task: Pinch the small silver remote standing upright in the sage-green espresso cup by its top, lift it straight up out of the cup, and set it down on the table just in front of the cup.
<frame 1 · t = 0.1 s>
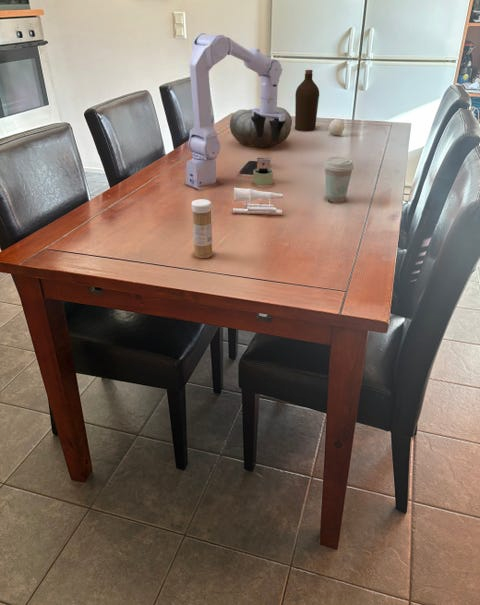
hand: (267, 139, 179), 10 cm above the table, tool pointing down, fingers open, 7 cm apart
phone: (254, 170, 181), on the table
sprinkles bottle: (203, 255, 123), on the table
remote: (263, 181, 168), point 1 cm above the table, touching cup
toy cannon: (257, 212, 147), on the table
olive oil: (305, 129, 236), on the table
coffee cup: (335, 200, 156), on the table
cup: (263, 184, 168), on the table, touching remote
gourd: (260, 145, 212), on the table
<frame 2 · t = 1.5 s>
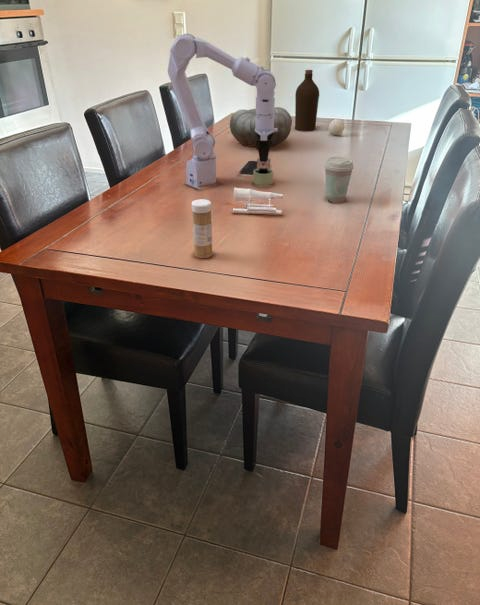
hand: (263, 158, 164), 9 cm above the table, tool pointing down, fingers open, 7 cm apart
nothing on the table moved.
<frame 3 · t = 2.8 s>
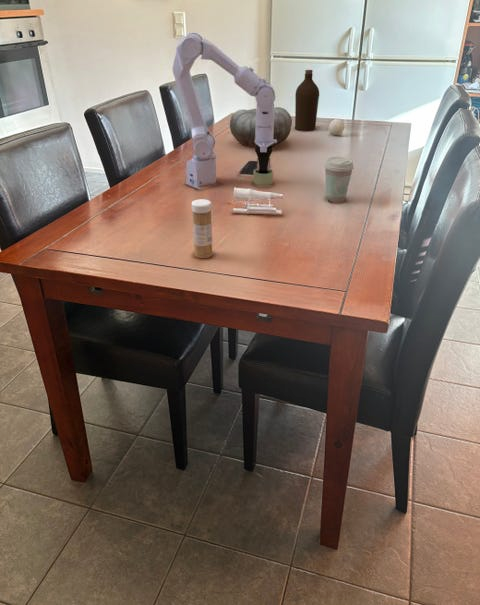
hand: (263, 168, 165), 5 cm above the table, tool pointing down, fingers closed on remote, 2 cm apart
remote: (263, 181, 168), point 1 cm above the table, touching cup, gripper
everything else where it was.
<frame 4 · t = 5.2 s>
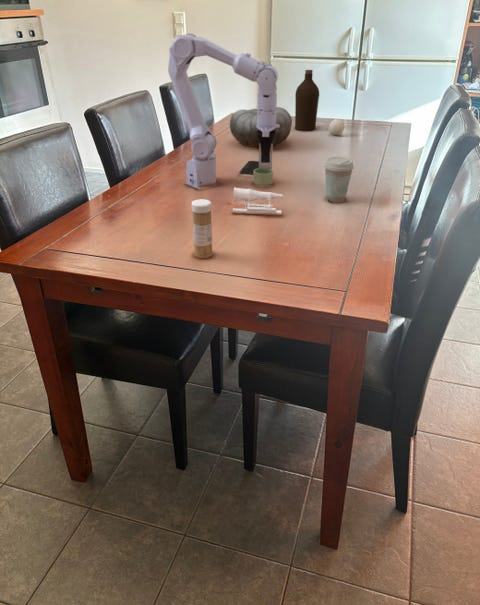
hand: (265, 154, 160), 10 cm above the table, tool pointing down, fingers closed on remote
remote: (265, 168, 163), point 6 cm above the table, touching gripper
cup: (263, 184, 168), on the table
everything else where it was.
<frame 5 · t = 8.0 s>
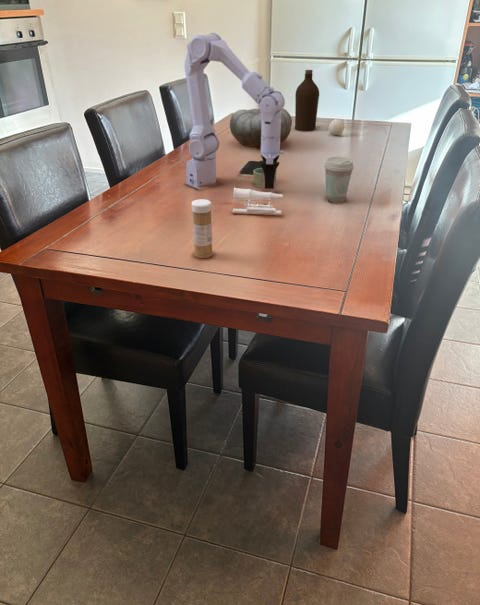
hand: (269, 180, 158), 4 cm above the table, tool pointing down, fingers open, 6 cm apart
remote: (269, 194, 160), on the table
everything else where it was.
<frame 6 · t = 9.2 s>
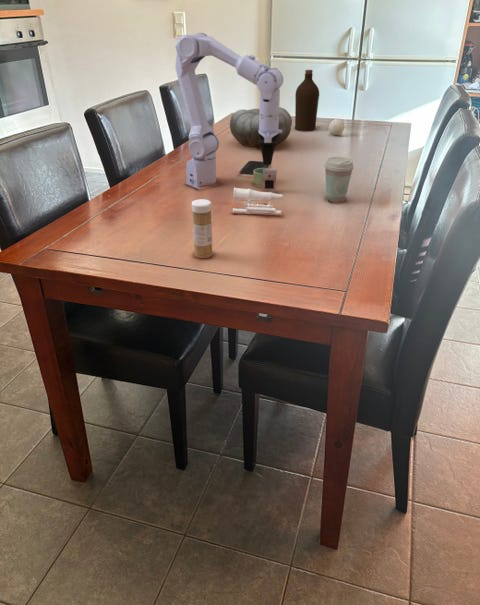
hand: (267, 160, 156), 10 cm above the table, tool pointing down, fingers open, 7 cm apart
nothing on the table moved.
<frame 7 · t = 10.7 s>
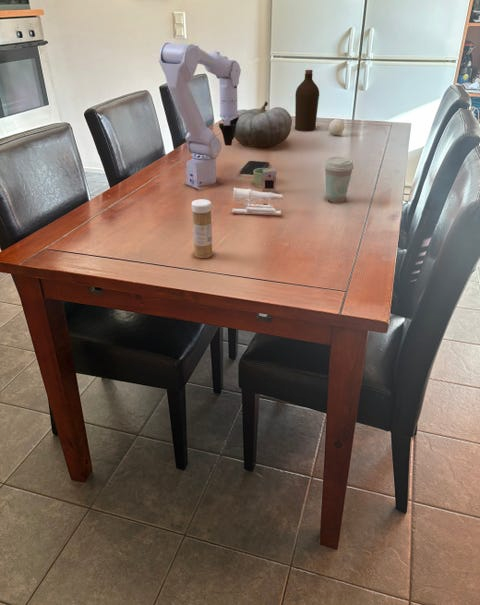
hand: (229, 142, 174), 10 cm above the table, tool pointing down, fingers open, 7 cm apart
nothing on the table moved.
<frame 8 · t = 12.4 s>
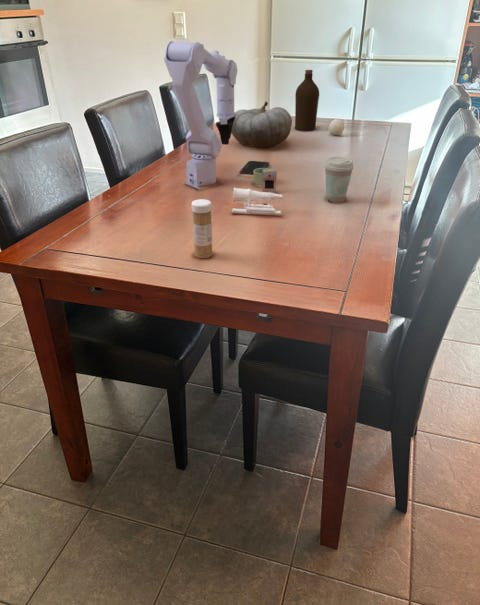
hand: (226, 141, 175), 10 cm above the table, tool pointing down, fingers open, 7 cm apart
nothing on the table moved.
at the end: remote inside the target area (0.1 cm from its centre), on the table; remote touching table; the gripper is holding nothing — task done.
